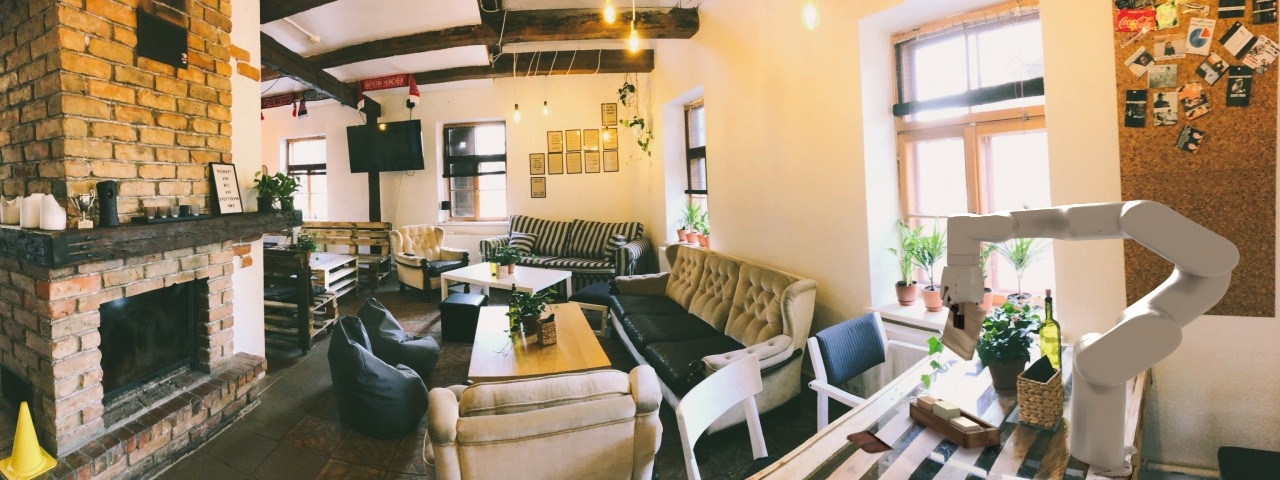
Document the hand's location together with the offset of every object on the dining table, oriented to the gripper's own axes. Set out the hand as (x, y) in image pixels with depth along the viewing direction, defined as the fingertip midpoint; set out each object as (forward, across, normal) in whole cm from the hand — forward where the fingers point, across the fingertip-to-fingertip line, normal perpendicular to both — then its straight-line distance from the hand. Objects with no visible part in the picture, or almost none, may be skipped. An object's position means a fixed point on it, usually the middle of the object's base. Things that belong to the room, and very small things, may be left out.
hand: (962, 327), depth 135 cm
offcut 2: (+28, +5, +6) cm, 29 cm away
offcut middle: (+28, +5, 0) cm, 29 cm away
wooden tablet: (+30, +18, -3) cm, 35 cm away
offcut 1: (+28, +5, -6) cm, 29 cm away
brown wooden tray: (+30, +3, 0) cm, 30 cm away
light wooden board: (+7, 0, -2) cm, 7 cm away
